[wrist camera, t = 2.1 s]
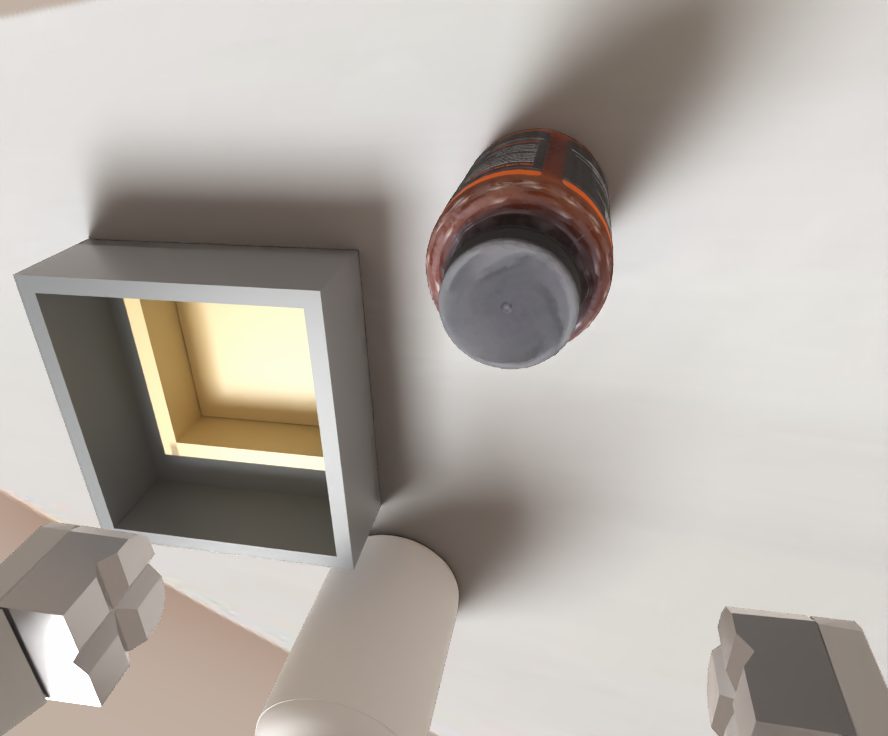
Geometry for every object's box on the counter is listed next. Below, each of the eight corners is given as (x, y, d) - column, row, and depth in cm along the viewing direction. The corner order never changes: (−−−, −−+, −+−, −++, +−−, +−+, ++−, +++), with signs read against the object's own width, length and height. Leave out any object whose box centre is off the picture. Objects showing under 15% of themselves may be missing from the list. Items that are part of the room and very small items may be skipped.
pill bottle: (330, 519, 39) (202, 773, 27) (466, 543, 38) (400, 821, 25) (333, 613, 43) (223, 874, 30) (456, 638, 42) (396, 920, 29)
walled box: (380, 505, 38) (353, 570, 34) (156, 480, 41) (104, 538, 36) (358, 250, 31) (320, 291, 27) (87, 239, 34) (13, 275, 29)
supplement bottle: (437, 199, 29) (358, 300, 19) (537, 92, 26) (504, 148, 17) (534, 293, 30) (505, 433, 21) (640, 200, 28) (664, 312, 18)
